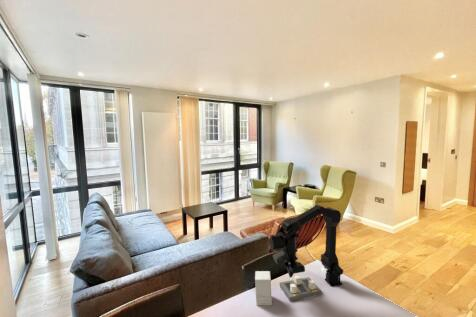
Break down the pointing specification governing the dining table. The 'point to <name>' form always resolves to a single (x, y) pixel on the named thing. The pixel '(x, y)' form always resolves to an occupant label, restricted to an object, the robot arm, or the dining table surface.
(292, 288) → the switch tab
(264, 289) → the supplement box
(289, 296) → the switch panel
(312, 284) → the switch tab
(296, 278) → the switch tab
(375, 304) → the dining table surface
